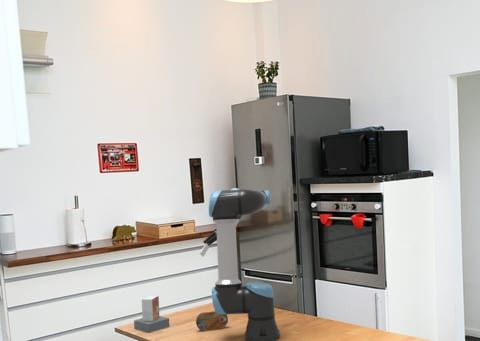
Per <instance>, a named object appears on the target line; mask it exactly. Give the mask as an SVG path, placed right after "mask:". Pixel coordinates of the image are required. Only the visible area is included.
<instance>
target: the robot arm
mask: <svg viewBox="0 0 480 341" xmlns="http://www.w3.org/2000/svg"><path fill="white" fill-rule="evenodd" d="M270 204H271V191H270V190H254V189H240V188H237V187H233V188H231V189H226V190H225V189H224V190H223V189H222V190H217V191H216V190H215V191H212V192H211V194H210V197H209V202H208V216H209V217H210V218H212V222H214V224H215V225H216V229H214V231H213V232H212V233H210V235H209V236H207V237H206V238H205V239H204V240H203V244H204V245H203V246H202V249H201V250H200V252H199V255H200V256H202V257H204V256H205V255H206V253H207V251H208V250H209V248H210V246H211V245H212V244H213V243H215V242H216V244H217V245H216V247H217V249H216V250H217V272H218V273H217V274H218V279H217V281H216V282H214V283H215V284H214V285H215V286H213V287H212V288H211V300H212V305H213V308H214V311H216V313H218V314H226V315H227V316H228V315H242V314H243V315H244V314H247V324H246V327H245V328H246V329H245V332H244V339H245V340H246V341H273V340H275V341H277V340H279V339H280V338H281V332H280V329H279V327H278V325H277V321H276V318H275V317H276V316H275V301H274V298H275V294H274V288H273V286H272V285H271V284H270V283H265V282H261V281H249V282H247V283H246V284H245V285H242V281H241V280H240V279H239V273H238V272H239V271H238V252H237V249H238V248H237V246H238V245H237V229H236V228H237V226H238V224H239V222H240V220H241V219H242V217H243V216H248V215H249V216H250V215H252V214H255V213H258V212H260V211H261V210H263V209H264V208H265V206H266V205H270ZM279 337H280V338H279ZM278 338H279V339H278ZM276 339H277V340H276Z"/></svg>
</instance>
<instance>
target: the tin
mask: <svg viewBox="0 0 480 341" xmlns="http://www.w3.org/2000/svg"><path fill="white" fill-rule="evenodd" d="M228 321H229V317H228V314H227V315H226V314H218V313H216V311H215V310H213V311H204V312H201V313H199V314H198V315H197V317H196V319H195V324H196V328H198V329H199V330H200V331H202V332H209V331H210V332H211V331H216V330H221V329H224V328H225V327H226V326H227V325H228Z"/></svg>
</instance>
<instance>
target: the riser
mask: <svg viewBox="0 0 480 341" xmlns="http://www.w3.org/2000/svg"><path fill="white" fill-rule="evenodd" d="M133 324H134V329H135V330H137V331H141V332H143V333H147V334H150V333H153V331H154V332H157V331H160V330H163V329H165V328H170V318H169V317H165V316H161V315H159V318H157V319H156V320H154V321H143V317H141V318H139V319H134V320H133Z"/></svg>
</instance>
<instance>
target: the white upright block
mask: <svg viewBox="0 0 480 341" xmlns="http://www.w3.org/2000/svg"><path fill="white" fill-rule="evenodd" d="M159 296H160V295H148V296H146V297H144V298H142V299H141V311H142V312H141V313H142V314H141V315H142V317H141V318H143V321H154V320H156V319H157V318H159V316H160V300H159V299H160V298H159Z"/></svg>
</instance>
